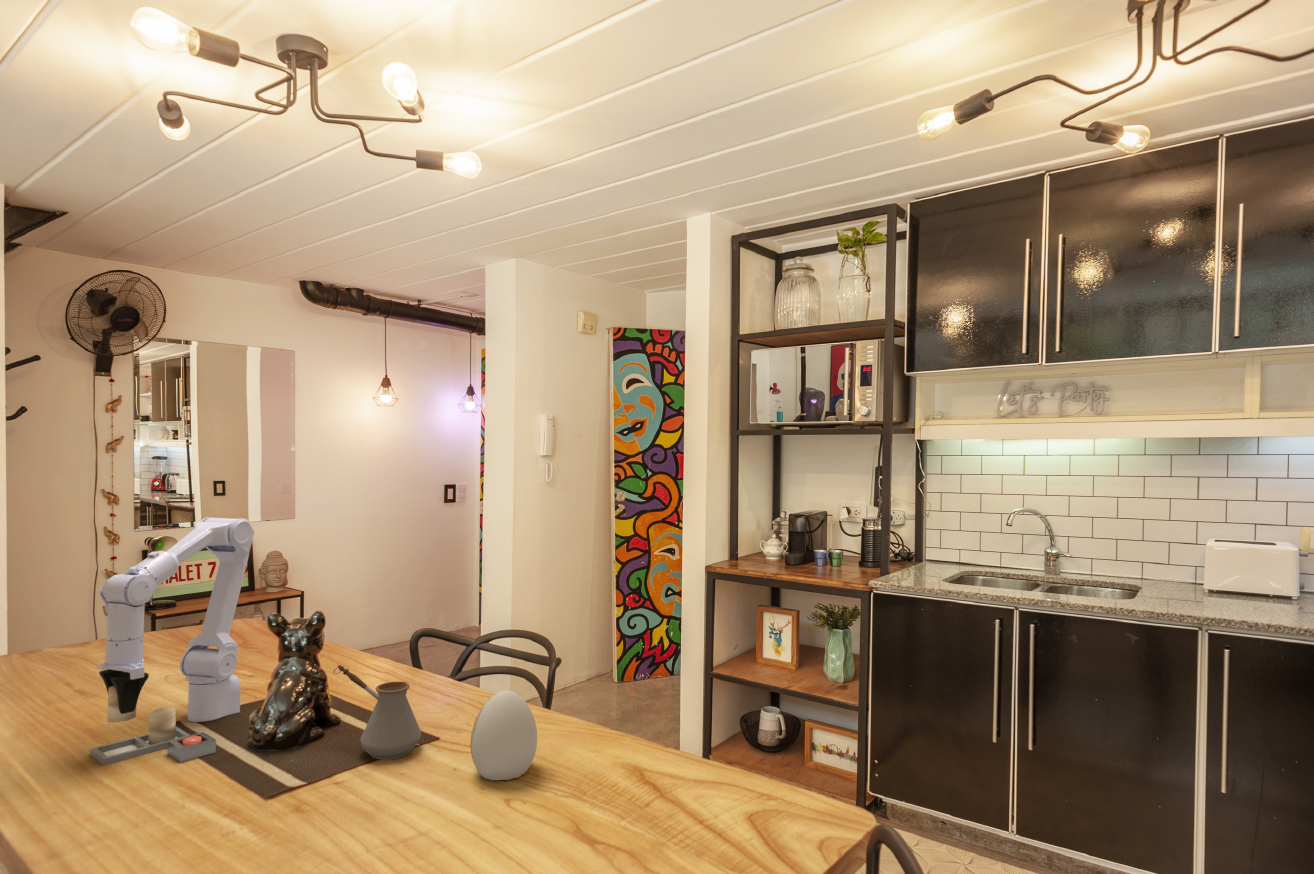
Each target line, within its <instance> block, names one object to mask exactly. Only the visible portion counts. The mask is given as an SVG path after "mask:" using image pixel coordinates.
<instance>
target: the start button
mask: <svg viewBox="0 0 1314 874" xmlns="http://www.w3.org/2000/svg"><path fill="white" fill-rule="evenodd" d="M201 738H202V737H201V736H191V737H187V738H185V739H183V746H188V745H191V744H195V743H199V742H201Z"/></svg>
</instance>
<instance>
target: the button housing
mask: <svg viewBox="0 0 1314 874" xmlns="http://www.w3.org/2000/svg"><path fill="white" fill-rule="evenodd" d="M191 736H201V737H202V738H201V742H199V743H195V744H191V745H188V746H183V739H185V738H187V737H191ZM216 749H217V739H216V738H214V737H212V736H211V735H209V734H207V733H205V732H204V731H201V732H198V733H194V734H190V735H189V736H186V737H182V738H178V739H175V740H171V741H168V748H167V755H168V756H170V757H171V758H173V759H174V760H175V761H177V762H179V763H184V762H189V761H190V760H194V759H197V758H201V757H205V756H207V755H212V754H214V753H215V754H216V753H217V752H216Z"/></svg>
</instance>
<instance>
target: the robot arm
mask: <svg viewBox="0 0 1314 874" xmlns="http://www.w3.org/2000/svg"><path fill="white" fill-rule="evenodd" d="M193 526H194V527H193V529H192V530H191V531H190V532H189V533H188V534H186V535H184V537H183V538H181V539H180V540H179V541H178V542H177V543H175V544H174V545H173V546H172V547H170V548H169V549H168V550H166V551H164V550H158V551H157V550H156V551H151V552H150V553H148V554H147V557H146V558H145V559H143V560H142V561H140V562H139V563H138V564H136V565H134V566H131V567H129V568H128V569H127V571H125V572H124V573H123V574H122V573H117V574H114V575H112V576H110V577H109V578H108V579H107V580H106V581H104V583H103V586H102V589H101V590H100V591H99V597H100V600H101V601H102V602H103V604H104V611H105V613H106V614H107V618H106V619H107V622H106V649H105V656H104V657H105V658H104V662H103V663H99V664H97V669H98V670H101V671H99V676H100V678H101V679H102V680H103V681H102V682H104V685H105V687H106V691H107V693H108V691H109V687H111V686H113V685H114V687H115V689H116V692H117V697H118V706H119V711H120V713H121V714H124V713H129V712H133V711H134V710H135V707H136V708H137V705H138V701H139V700H138V699H139V697H140V694H141V692H142V689H143V686H144V685H145V684H146V681H148V679H149V676H150V674H149V673H147V672H145V666H144V663H145V658H144V638H145V637H144V632H145V631H144V629H145V608H146V607H145V606H146V605H145V603H148V602H150V599H152V596H153V594H154V592H155V591H156V590H157V588H158V587H159V586H160V585H162V584H164V582H166V581H167V580H169V578H171V577H172V576H174V575H175V574H176V573H178V570H179V564H181V563H182V562H184V561H186V560H187V559H189V558H191V557H192V556H194V555H195V554H197V553H199V552H201V550H203V549H207V550H208V551H209V552H211V553H212V554H213V555H214V556H216V558H217V559H218V561H219V564H218V568H217V571H216V576H215V580H214V583H213V588H212V591H211V594H210V597H209V603H208V606H207V610H206V613H205V617H204V621H203V625H202V629H201V632H200V633H199V634H198V635H196V636H195V637H193V638H192V639H191V640H189V642H188V645H187V647H186V650H185V651H184V653H183V655H182V656H181V658H180V662H179V670H180V673H181V674H182V675H183V676H185V681H187V682H188V690H187V691H188V694H187V720H188V721H190V722H195V723H199V722H208V721H209V722H210V721H214V720H218V719H220V718H223V717H226V716H227V717H228V716H229V715H233V714H237V713H240V712H241V683H240V679H239V677H238V675H237V674H234V672H235V669H236V667H237V664H238V657H237V656H238V654H237V653H238V647H239V645H238V643H237V642H236V641H235V640H234V638H233V637H232V636H231V635H230V634H231V629H232V626H233V621H234V616H235V612H236V609H237V604H238V601H239V598H240V592H241V588H242V586H243V582H244V577H245V573H246V570H247V565H248V562H249V561H248V560H249V558H250V551H251V548H252V544H253V539H254V535H255V529H254V527H253V526H252V525H251V523H250V521H249V520H248V519H246V518H240V517H238V518H226V517H214V516H207V517H204V518H203V519H201V520H200V521H198V522H197V523H195V524H194V525H193ZM209 647H215V648H209Z"/></svg>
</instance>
